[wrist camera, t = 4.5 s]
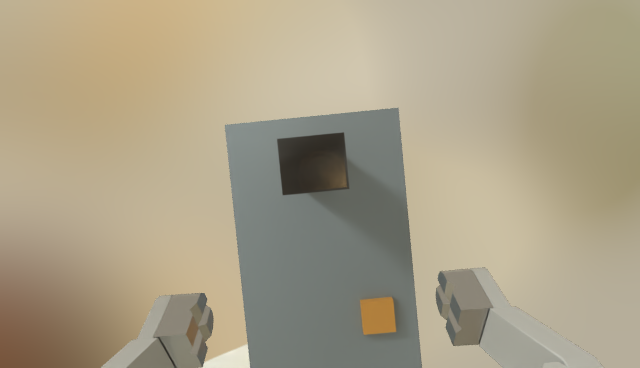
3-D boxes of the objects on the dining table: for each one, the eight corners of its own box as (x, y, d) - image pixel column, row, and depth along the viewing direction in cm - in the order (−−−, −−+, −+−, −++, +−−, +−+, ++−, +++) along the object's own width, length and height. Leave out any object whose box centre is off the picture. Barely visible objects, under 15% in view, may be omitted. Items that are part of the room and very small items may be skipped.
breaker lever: (282, 195, 16) (276, 138, 16) (302, 184, 32) (299, 156, 32) (349, 189, 16) (344, 132, 16) (335, 181, 32) (332, 153, 32)
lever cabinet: (265, 538, 25) (222, 123, 24) (282, 429, 35) (252, 139, 35) (437, 522, 25) (400, 106, 24) (403, 418, 35) (376, 127, 34)
